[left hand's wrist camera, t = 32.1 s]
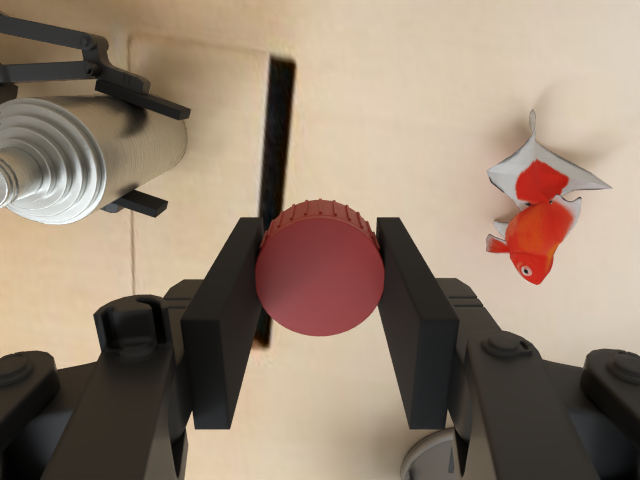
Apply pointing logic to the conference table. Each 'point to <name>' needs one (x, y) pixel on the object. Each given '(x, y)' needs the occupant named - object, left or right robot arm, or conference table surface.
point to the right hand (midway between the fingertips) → (172, 163)
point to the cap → (319, 269)
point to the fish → (537, 205)
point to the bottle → (80, 153)
